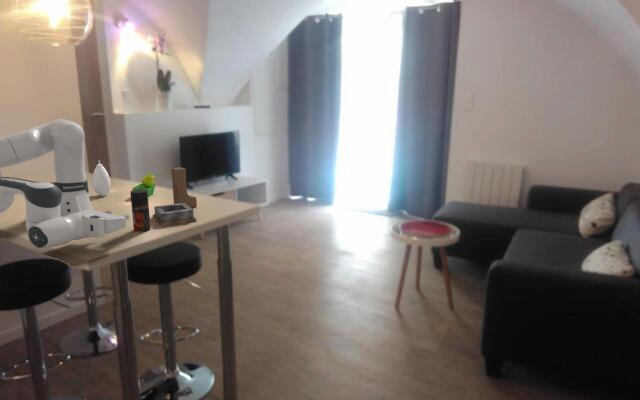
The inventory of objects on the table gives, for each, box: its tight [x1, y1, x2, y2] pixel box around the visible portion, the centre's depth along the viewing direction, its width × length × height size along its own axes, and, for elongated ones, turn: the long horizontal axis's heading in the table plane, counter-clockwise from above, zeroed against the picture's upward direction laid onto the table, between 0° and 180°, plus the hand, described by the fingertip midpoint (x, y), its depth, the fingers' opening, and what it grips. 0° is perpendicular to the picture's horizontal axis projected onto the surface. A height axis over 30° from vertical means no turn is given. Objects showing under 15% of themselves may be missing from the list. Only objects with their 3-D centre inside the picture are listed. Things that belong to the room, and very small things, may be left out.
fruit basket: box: [131, 172, 156, 198], centre depth 227 cm, size 11×9×11 cm
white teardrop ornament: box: [91, 159, 111, 197], centre depth 226 cm, size 8×8×18 cm
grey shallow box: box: [152, 203, 197, 227], centre depth 191 cm, size 14×14×5 cm
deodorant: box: [129, 189, 151, 233], centre depth 176 cm, size 6×6×15 cm
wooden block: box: [171, 166, 198, 209], centre depth 207 cm, size 9×4×18 cm, turn 134°
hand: (118, 214), depth 167 cm, fingers open, 8 cm apart
